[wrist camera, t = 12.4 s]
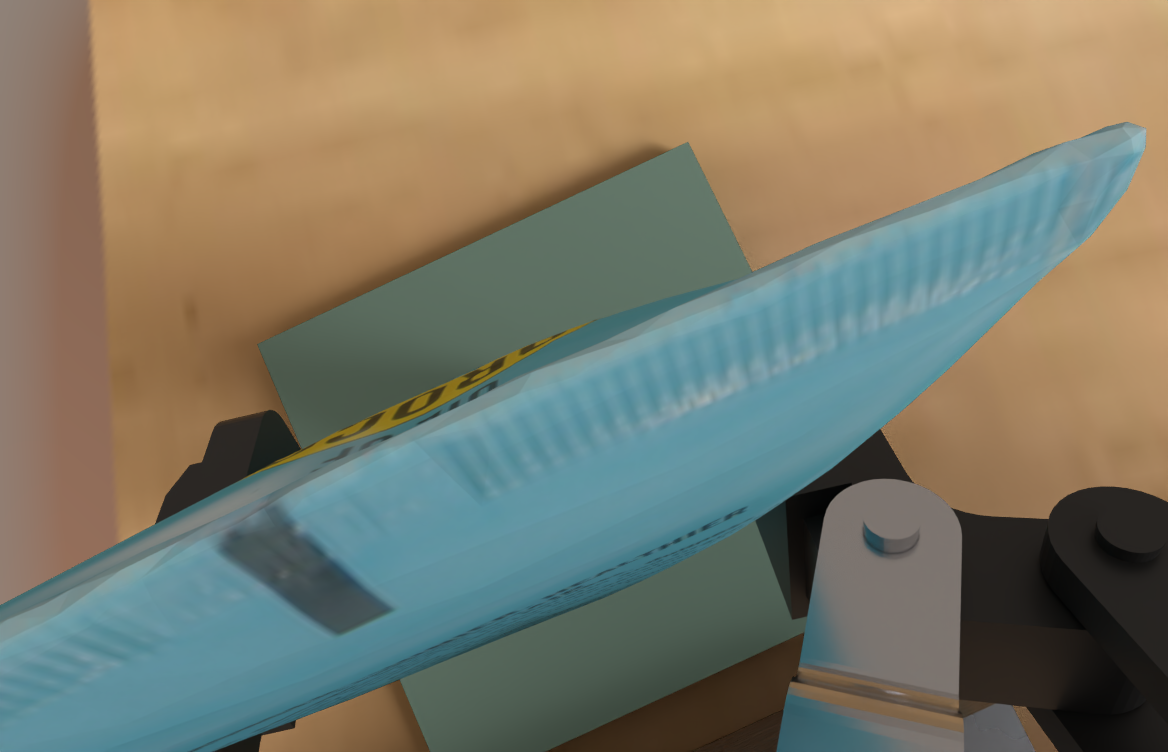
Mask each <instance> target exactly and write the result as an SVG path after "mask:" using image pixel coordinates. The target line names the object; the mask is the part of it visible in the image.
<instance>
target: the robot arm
mask: <svg viewBox="0 0 1168 752" xmlns="http://www.w3.org/2000/svg"><path fill="white" fill-rule="evenodd" d="M299 450H301V449H300V447H299V446H298V444H297V442H296V441H295V439H294V437H293V436H292V434H291V432H290V431H289V429H288V427H287V426H286V424H285V422H284V421H283V419H282V418H281V416H280V415H279V414H278V413H276V412H275V411H273V410H268V411H264V412H260V413H255V414H251V415H247V416H243V417H238V418H234V419H230V420H226V421H222V422H219V423H218V424H217V425H216V426H215V427H214V430H213V432H212V435H211V438H210V441H209V444H208V447H207V450H206V453H205V456H204V459H203V461H202V462H201V463H197V464H193V465H190V466H189V467H188V468H187V470H186V471H185V472H184V473H183V475H182V476H181V477H180V478H179V480H178V481H177V482H176V483H175V485H174V486H173V487H172V488H171V490H170V491H169V492H168V493H167V495H166V496H165V499H164V502H163V504H162V507H161V510H160V512H159V515H158V518H157V520H156V523H155V524H157V523H159V522H161V521H162V520H164V519H166V518H168V517H170V516H172V515H174V514H176V513H178V512H180V511H182V510H184V509H186V508H188V507H189V506H191V505H193V504H195V503H197V502H199V501H201V500H203V499H205V498H207V497H209V496H211V495H213V494H215V493H216V492H218V491H220V490H222V489H224V488H226V487H228V486H230V485H232V484H234V483H236V482H238V481H240V480H242V479H243V478H245V477H247V476H249V475H251V474H253V473H255V472H257V471H259V470H261V469H262V468H264V467H266V466H268V465H270V464H272V463H273V462H275V461H277V460H280V459H282V458H285V457H287V456H289V455H291V454H293V453H295V452H297V451H299ZM755 521H756V524H757V527H758V529H759V532H760V535H761V537H762V540H763V543H764V545H765V548H766V551H767V553H768V556H769V559H770V562H771V564H772V567H773V570H774V572H775V575H776V578H777V580H778V583H779V586H780V588H781V591H782V594H783V597H784V599H785V602H786V605H787V607H788V610H789V613H790V615H791V618H792V620H794V619H798V618H803V617H807V622H806V628H805V634H804V640H803V645H802V651H801V657H800V663H799V667H798V671H797V674H796V676H795V677H794V676H793V677H792V679H791V682H790V685H789V688H788V692H787V696H786V701H785V706H784V712H783V717H782V723H781V729H780V734H779V740H778V746H777V751H776V752H964V724H963V715H962V712H960V710H959V700H968V701H977V702H987V703H996V704H1005V705H1015V706H1024V707H1027V709H1028V710H1029V711H1030V713H1031V714H1032V715H1033V717H1034V718H1035V720H1036V721H1037V722H1038V724H1039V725H1040V727H1041V728H1042V729H1043V731H1044V732H1045V733H1046V735H1047V736H1048V738H1049V739H1050V740H1051V742H1052V743H1053V744H1054V746H1055V747H1056V749H1057V750H1058V751H1059V752H1168V502H1166V501H1164V500H1162V499H1160V498H1158V497H1155V496H1153V495H1150V494H1147V493H1144V492H1141V491H1137V490H1132V489H1128V488H1120V487H1093V488H1087V489H1083V490H1079V491H1076V492H1074V493H1072V494H1070V495H1068V496H1066V497H1065V498H1063V499H1062V500H1060V501H1059V502H1058V504H1057V505H1056V506H1055V507H1054V508H1053V510H1052V512H1051V514H1050V516H1049V519H1033V518H1012V517H991V516H981V515H975V514H970V513H965V512H962V511H959V510H956V509H953V508H950V506H949V505H948V504H947V503H946V502H945V501H944V500H943V499H941V498H940V497H939V496H938V495H936V494H935V493H933V492H932V491H930V490H928V489H926V488H924V487H922V486H919V485H917V484H914V483H913V482H912V480H911V479H910V478H909V476H908V475H907V473H906V472H905V470H904V468H903V467H902V465H901V463H900V462H899V460H898V458H897V457H896V455H895V453H894V452H893V450H892V448H891V446H890V445H889V443H888V441H887V440H886V438H885V436H884V435H883V433H882V431H881V430H880V429H879V430H878V431H877V432H876V433H874V434H873V435H872V436H871V437H870V438H868V439H867V440H866V441H865V442H863V443H862V444H861V445H860V446H859V447H857V448H856V449H855V450H854V451H852V452H851V453H850V454H849V455H848V456H846V457H845V458H844V459H843V460H842V461H840V462H839V463H838V464H837V465H835V466H834V467H833V468H832V469H830V470H829V471H827V472H826V473H824V474H823V475H822V476H820V477H819V478H817V479H816V480H814V481H813V482H811V483H810V484H809V485H807V486H806V487H804V488H803V489H801V490H800V491H798V492H797V493H795V494H794V495H793V496H791V497H790V498H788V499H787V500H785V501H784V502H782V503H781V504H779V505H778V506H776V507H775V508H773V509H772V510H770V511H769V512H767V513H766V514H764V515H763V516H761V517H760V518H758V519H757V520H755ZM295 722H296V720H294V721H292V722H289V723H286V724H284V725H281V726H278V727H276V728H273V729H270V730H268V731H265V732H262V733H260V734H257V735H255V736H252V737H249V738H247V739H244V740H242V741H239V742H237V743H234V744H231V745H229V746H226V747H224V748H221V749H218V750H216V751H213V752H259V746H260V741H261V736H262V735H266V734H270V733H275V732H279V731H284V730H288V729H293V728H295Z"/></svg>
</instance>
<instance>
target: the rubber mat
mask: <svg viewBox="0 0 1168 752" xmlns="http://www.w3.org/2000/svg"><path fill="white" fill-rule="evenodd" d="M750 273H752V270H751V268H750V266H749V264H748V262H747V260H746V258H745V256H744V254H743V252H742V250H741V248H740V246H739V244H738V242H737V240H736V238H735V236H734V234H733V232H732V230H731V228H730V226H729V224H728V222H727V220H726V218H725V216H724V214H723V212H722V210H721V208H720V206H719V204H718V201H717V199H716V197H715V195H714V193H713V191H712V189H711V187H710V185H709V183H708V181H707V179H706V177H705V175H704V173H703V171H702V169H701V167H700V165H699V163H698V161H697V159H696V157H695V155H694V153H693V151H692V149H691V147H690V145H689V143H688V142H687V143H685V144H683V145H680V146H678V147H676V148H674V149H672V150H670V151H668V152H666V153H663V154H661V155H659V156H657V157H655V158H653V159H651V160H648V161H646V162H644V163H642V164H640V165H638V166H636V167H634V168H631V169H629V170H627V171H625V172H623V173H621V174H619V175H617V176H614V177H612V178H610V179H608V180H606V181H604V182H602V183H600V184H597V185H595V186H593V187H591V188H589V189H587V190H585V191H582V192H580V193H578V194H576V195H574V196H572V197H570V198H568V199H565V200H563V201H561V202H559V203H557V204H555V205H553V206H551V207H548V208H546V209H544V210H542V211H540V212H538V213H536V214H533V215H531V216H529V217H527V218H525V219H523V220H521V221H519V222H516V223H514V224H512V225H510V226H508V227H506V228H504V229H502V230H499V231H497V232H495V233H493V234H491V235H489V236H487V237H485V238H482V239H480V240H478V241H476V242H474V243H472V244H470V245H467V246H465V247H463V248H461V249H459V250H457V251H455V252H453V253H450V254H448V255H446V256H444V257H442V258H440V259H438V260H436V261H433V262H431V263H429V264H427V265H425V266H423V267H421V268H419V269H416V270H414V271H412V272H410V273H408V274H406V275H404V276H401V277H399V278H397V279H395V280H393V281H391V282H389V283H387V284H384V285H382V286H380V287H378V288H376V289H374V290H372V291H370V292H367V293H365V294H363V295H361V296H359V297H357V298H355V299H352V300H350V301H348V302H346V303H344V304H342V305H340V306H338V307H335V308H333V309H331V310H329V311H327V312H325V313H323V314H321V315H318V316H316V317H314V318H312V319H310V320H308V321H306V322H304V323H301V324H299V325H297V326H295V327H293V328H291V329H289V330H286V331H284V332H282V333H280V334H278V335H276V336H274V337H272V338H269V339H267V340H265V341H263V342H261V343H259V344H257V345H258V347H259V350H260V352H261V354H262V357H263V359H264V361H265V364H266V366H267V368H268V371H269V373H270V375H271V378H272V380H273V382H274V385H275V387H276V390H277V392H278V394H279V397H280V399H281V401H282V404H283V406H284V408H285V411H286V413H287V415H288V418H289V420H290V423H291V425H292V427H293V430H294V432H295V434H296V437H297V439H298V441H299V444H300V446H301V448H302V449H303V448H305V447H307V446H309V445H311V444H313V443H315V442H317V441H319V440H322V439H324V438H326V437H328V436H330V435H332V434H333V433H335V432H337V431H339V430H342V429H344V428H346V427H349V426H351V425H353V424H356V423H358V422H360V421H362V420H364V419H366V418H368V417H370V416H373V415H375V414H377V413H379V412H381V411H383V410H385V409H388V408H390V407H392V406H394V405H396V404H399V403H401V402H403V401H405V400H407V399H409V398H412V397H414V396H416V395H418V394H420V393H423V392H425V391H427V390H429V389H431V388H434V387H436V386H438V385H441V384H443V383H445V382H447V381H449V380H452V379H454V378H456V377H458V376H460V375H462V374H465V373H467V372H469V371H471V370H474V369H476V368H478V367H480V366H483V365H485V364H487V363H489V362H492V361H494V360H496V359H498V358H501V357H503V356H505V355H507V354H510V353H512V352H514V351H516V350H519V349H521V348H523V347H525V346H528V345H530V344H533V343H536V342H538V341H541V340H543V339H546V338H549V337H551V336H554V335H556V334H559V333H561V332H564V331H566V330H568V329H571V328H574V327H577V326H580V325H583V324H586V323H589V322H591V321H593V320H596V319H601V318H604V317H607V316H610V315H613V314H616V313H620V312H623V311H626V310H629V309H633V308H636V307H639V306H642V305H646V304H649V303H652V302H655V301H658V300H662V299H665V298H668V297H672V296H676V295H680V294H683V293H687V292H691V291H695V290H698V289H702V288H706V287H709V286H713V285H717V284H721V283H724V282H728V281H732V280H735V279H739V278H741V277H743V276H745V275H747V274H750ZM806 622H807V617H803V618H798V619H794V620H792V618H791V615H790V613H789V610H788V607H787V605H786V602H785V599H784V597H783V594H782V591H781V588H780V586H779V583H778V580H777V578H776V575H775V572H774V570H773V567H772V564H771V562H770V559H769V556H768V553H767V551H766V548H765V545H764V543H763V540H762V537H761V535H760V532H759V529H758V527H757V524H756V521H753V522H752V523H750V524H748V525H747V526H745V527H744V528H742V529H740V530H739V531H737V532H736V533H734V534H732V535H731V536H729V537H727V538H725V539H724V540H722V541H720V542H718V543H716V544H714V545H712V546H710V547H708V548H706V549H704V550H702V551H700V552H698V553H697V554H695V555H693V556H691V557H689V558H687V559H685V560H683V561H681V562H679V563H677V564H675V565H673V566H672V567H670V568H667V569H665V570H663V571H661V572H659V573H657V574H655V575H653V576H651V577H649V578H647V579H645V580H643V581H641V582H639V583H636V584H634V585H632V586H630V587H627V588H625V589H623V590H621V591H618V592H616V593H614V594H612V595H610V596H607V597H605V598H603V599H600V600H597V601H595V602H592V603H590V604H587V605H585V606H582V607H580V608H577V609H575V610H572V611H569V612H567V613H564V614H562V615H559V616H557V617H554V618H552V619H549V620H547V621H544V622H542V623H539V624H536V625H534V626H531V627H529V628H526V629H524V630H521V631H519V632H516V633H514V634H511V635H509V636H506V637H504V638H501V639H499V640H496V641H494V642H491V643H489V644H486V645H484V646H481V647H479V648H476V649H474V650H471V651H469V652H466V653H464V654H461V655H459V656H456V657H454V658H451V659H449V660H446V661H444V662H441V663H439V664H436V665H434V666H431V667H429V668H427V669H424V670H422V671H419V672H417V673H414V674H412V675H409V676H407V677H404V678H402V679H400V682H401V684H402V686H403V689H404V691H405V693H406V696H407V698H408V700H409V703H410V705H411V708H412V710H413V712H414V715H415V717H416V719H417V722H418V724H419V726H420V729H421V731H422V733H423V736H424V738H425V741H426V743H427V745H428V748H429V750H430V752H546V751H548V750H550V749H552V748H554V747H557V746H559V745H561V744H563V743H565V742H567V741H570V740H572V739H574V738H576V737H578V736H580V735H583V734H585V733H587V732H589V731H591V730H593V729H596V728H598V727H600V726H602V725H604V724H606V723H609V722H611V721H613V720H615V719H617V718H619V717H622V716H624V715H626V714H628V713H630V712H632V711H635V710H637V709H639V708H641V707H643V706H645V705H648V704H650V703H652V702H654V701H656V700H658V699H661V698H663V697H665V696H667V695H669V694H671V693H674V692H676V691H678V690H680V689H682V688H684V687H687V686H689V685H691V684H693V683H695V682H698V681H700V680H702V679H704V678H706V677H708V676H711V675H713V674H715V673H717V672H719V671H721V670H724V669H726V668H728V667H730V666H732V665H734V664H737V663H739V662H741V661H743V660H745V659H747V658H750V657H752V656H754V655H756V654H758V653H760V652H763V651H765V650H767V649H769V648H771V647H773V646H776V645H778V644H780V643H782V642H784V641H786V640H789V639H791V638H793V637H795V636H797V635H799V634H802V633H804V632H805V628H806Z"/></svg>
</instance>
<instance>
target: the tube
mask: <svg viewBox="0 0 1168 752" xmlns="http://www.w3.org/2000/svg"><path fill="white" fill-rule="evenodd" d="M1145 147H1146V128H1144V127H1141V126H1138V125H1135V124H1132V123H1129V122H1124V123H1120V124H1116V125H1112V126H1107V127H1105V128H1102V129H1100V130H1098V131H1096V132H1093V133H1091V134H1089V135H1086V136H1084V137H1082V138H1079V139H1076V140H1072V141H1068V142H1065V143H1062V144H1059V145H1056V146H1053V147H1050V148H1048V149H1045V150H1042V151H1039V152H1036V153H1033V154H1031V155H1029V156H1027V157H1025V158H1023V159H1021V160H1019V161H1017V162H1015V163H1013V164H1010V165H1008V166H1006V167H1004V168H1002V169H1000V170H998V171H996V172H994V173H992V174H990V175H988V176H986V177H984V178H982V179H979V180H977V181H974V182H972V183H969V184H967V185H964V186H962V187H959V188H957V189H954V190H952V191H949V192H946V193H944V194H941V195H939V196H936V197H934V198H931V199H929V200H926V201H924V202H921V203H919V204H916V205H914V206H911V207H909V208H906V209H903V210H901V211H898V212H896V213H893V214H891V215H888V216H885V217H883V218H880V219H878V220H875V221H873V222H870V223H867V224H865V225H862V226H860V227H857V228H854V229H852V230H849V231H847V232H844V233H842V234H839V235H836V236H834V237H831V238H829V239H826V240H824V241H821V242H818V243H816V244H814V245H812V246H809V247H807V248H805V249H803V250H800V251H798V252H796V253H794V254H792V255H789V256H787V257H785V258H783V259H781V260H778V261H776V262H774V263H772V264H770V265H767V266H765V267H763V268H761V269H758V270H756V271H754V272H752V273H750V274H747V275H745V276H743V277H741V278H739V279H735V280H732V281H728V282H724V283H721V284H717V285H713V286H709V287H706V288H702V289H698V290H695V291H691V292H687V293H683V294H680V295H676V296H672V297H668V298H665V299H662V300H658V301H655V302H652V303H649V304H646V305H642V306H639V307H636V308H633V309H629V310H626V311H623V312H620V313H616V314H613V315H610V316H607V317H604V318H601V319H596V320H593V321H591V322H589V323H586V324H583V325H580V326H577V327H574V328H571V329H568V330H566V331H564V332H561V333H559V334H556V335H554V336H551V337H549V338H546V339H543V340H541V341H538V342H536V343H533V344H530V345H528V346H525V347H523V348H521V349H519V350H516V351H514V352H512V353H510V354H507V355H505V356H503V357H501V358H498V359H496V360H494V361H492V362H489V363H487V364H485V365H483V366H480V367H478V368H476V369H474V370H471V371H469V372H467V373H465V374H462V375H460V376H458V377H456V378H454V379H452V380H449V381H447V382H445V383H443V384H441V385H438V386H436V387H434V388H431V389H429V390H427V391H425V392H423V393H420V394H418V395H416V396H414V397H412V398H409V399H407V400H405V401H403V402H401V403H399V404H396V405H394V406H392V407H390V408H388V409H385V410H383V411H381V412H379V413H377V414H375V415H373V416H370V417H368V418H366V419H364V420H362V421H360V422H358V423H356V424H353V425H351V426H349V427H346V428H344V429H342V430H339V431H337V432H335V433H333V434H332V435H330V436H328V437H326V438H324V439H322V440H319V441H317V442H315V443H313V444H311V445H309V446H307V447H305V448H303V449H301V450H299V451H297V452H295V453H293V454H291V455H289V456H287V457H285V458H282V459H280V460H277V461H275V462H273V463H272V464H270V465H268V466H266V467H264V468H262V469H261V470H259V471H257V472H255V473H253V474H251V475H249V476H247V477H245V478H243V479H242V480H240V481H238V482H236V483H234V484H232V485H230V486H228V487H226V488H224V489H222V490H220V491H218V492H216V493H215V494H213V495H211V496H209V497H207V498H205V499H203V500H201V501H199V502H197V503H195V504H193V505H191V506H189V507H188V508H186V509H184V510H182V511H180V512H178V513H176V514H174V515H172V516H170V517H168V518H166V519H164V520H162V521H161V522H159V523H157V524H155V525H153V526H151V527H149V528H147V529H145V530H143V531H141V532H139V533H138V534H136V535H134V536H132V537H130V538H128V539H126V540H124V541H122V542H120V543H118V544H117V545H115V546H113V547H111V548H109V549H107V550H105V551H104V552H101V553H99V554H97V555H95V556H94V557H92V558H90V559H88V560H86V561H84V562H82V563H80V564H78V565H76V566H74V567H73V568H71V569H69V570H67V571H65V572H63V573H61V574H59V575H57V576H55V577H53V578H51V579H50V580H48V581H46V582H44V583H42V584H40V585H38V586H36V587H34V588H32V589H31V590H29V591H27V592H25V593H23V594H21V595H19V596H17V597H15V598H13V599H11V600H10V601H7V602H6V603H4V604H2V605H0V752H213V751H216V750H218V749H221V748H224V747H226V746H229V745H231V744H234V743H237V742H239V741H242V740H244V739H247V738H249V737H252V736H255V735H257V734H260V733H262V732H265V731H268V730H270V729H273V728H276V727H278V726H281V725H284V724H286V723H289V722H292V721H294V720H297V719H300V718H302V717H305V716H308V715H310V714H313V713H315V712H318V711H321V710H323V709H326V708H329V707H331V706H334V705H337V704H339V703H342V702H345V701H347V700H350V699H353V698H355V697H358V696H360V695H363V694H365V693H367V692H370V691H372V690H375V689H377V688H380V687H382V686H385V685H387V684H390V683H392V682H395V681H397V680H399V679H402V678H404V677H407V676H409V675H412V674H414V673H417V672H419V671H422V670H424V669H427V668H429V667H431V666H434V665H436V664H439V663H441V662H444V661H446V660H449V659H451V658H454V657H456V656H459V655H461V654H464V653H466V652H469V651H471V650H474V649H476V648H479V647H481V646H484V645H486V644H489V643H491V642H494V641H496V640H499V639H501V638H504V637H506V636H509V635H511V634H514V633H516V632H519V631H521V630H524V629H526V628H529V627H531V626H534V625H536V624H539V623H542V622H544V621H547V620H549V619H552V618H554V617H557V616H559V615H562V614H564V613H567V612H569V611H572V610H575V609H577V608H580V607H582V606H585V605H587V604H590V603H592V602H595V601H597V600H600V599H603V598H605V597H607V596H610V595H612V594H614V593H616V592H618V591H621V590H623V589H625V588H627V587H630V586H632V585H634V584H636V583H639V582H641V581H643V580H645V579H647V578H649V577H651V576H653V575H655V574H657V573H659V572H661V571H663V570H665V569H667V568H670V567H672V566H673V565H675V564H677V563H679V562H681V561H683V560H685V559H687V558H689V557H691V556H693V555H695V554H697V553H698V552H700V551H702V550H704V549H706V548H708V547H710V546H712V545H714V544H716V543H718V542H720V541H722V540H724V539H725V538H727V537H729V536H731V535H732V534H734V533H736V532H737V531H739V530H740V529H742V528H744V527H745V526H747V525H748V524H750V523H752V522H753V521H755V520H757V519H758V518H760V517H761V516H763V515H764V514H766V513H767V512H769V511H770V510H772V509H773V508H775V507H776V506H778V505H779V504H781V503H782V502H784V501H785V500H787V499H788V498H790V497H791V496H793V495H794V494H795V493H797V492H798V491H800V490H801V489H803V488H804V487H806V486H807V485H809V484H810V483H811V482H813V481H814V480H816V479H817V478H819V477H820V476H822V475H823V474H824V473H826V472H827V471H829V470H830V469H832V468H833V467H834V466H835V465H837V464H838V463H839V462H840V461H842V460H843V459H844V458H845V457H846V456H848V455H849V454H850V453H851V452H852V451H854V450H855V449H856V448H857V447H859V446H860V445H861V444H862V443H863V442H865V441H866V440H867V439H868V438H870V437H871V436H872V435H873V434H874V433H876V432H877V431H878V430H879V429H880V428H882V427H883V426H884V425H885V424H887V423H888V422H889V421H890V420H891V419H893V418H894V417H895V416H896V415H897V414H899V413H900V412H901V411H902V410H903V409H905V408H906V407H907V406H908V405H909V404H910V403H911V402H912V401H913V400H915V399H916V398H917V397H918V396H919V395H920V394H921V393H922V392H923V391H925V390H926V389H927V388H928V387H929V386H930V385H931V384H932V383H934V382H935V381H936V380H937V379H938V378H939V377H940V376H941V375H942V374H944V373H945V372H946V371H947V370H948V369H949V368H950V367H951V366H952V365H953V364H954V363H955V362H956V361H957V360H958V359H959V358H960V357H961V356H962V355H964V354H965V353H966V352H967V351H968V350H969V349H970V348H971V347H972V346H973V345H974V344H975V343H976V342H977V341H978V340H979V339H980V338H981V337H982V336H983V335H984V334H985V333H986V332H987V331H988V330H989V329H990V328H991V327H992V326H993V325H994V324H995V323H996V322H997V321H998V320H999V319H1000V318H1001V317H1002V316H1004V315H1005V314H1006V313H1007V312H1008V311H1009V310H1010V309H1011V308H1012V307H1013V306H1014V305H1015V304H1016V303H1017V302H1018V301H1019V300H1020V299H1021V298H1022V297H1023V296H1024V295H1025V294H1026V293H1027V292H1028V291H1029V290H1030V289H1031V288H1032V287H1033V286H1034V285H1035V284H1036V283H1037V282H1038V281H1040V280H1041V279H1042V278H1043V277H1044V276H1045V275H1046V274H1048V273H1049V272H1050V271H1051V270H1052V269H1053V268H1055V267H1056V266H1057V265H1058V264H1059V263H1060V262H1062V261H1063V260H1064V259H1065V258H1066V257H1067V256H1069V255H1070V254H1071V253H1072V252H1073V251H1074V250H1075V249H1077V248H1078V247H1079V246H1080V245H1081V244H1082V243H1083V242H1085V241H1086V240H1087V239H1088V238H1089V237H1090V236H1091V235H1092V234H1093V233H1094V231H1095V230H1096V229H1097V228H1098V226H1099V225H1100V224H1101V222H1102V221H1103V220H1104V219H1105V217H1106V216H1107V215H1108V213H1109V212H1110V211H1111V210H1112V208H1113V207H1114V206H1115V204H1116V203H1117V202H1118V201H1119V199H1120V198H1121V197H1122V195H1123V194H1124V193H1125V192H1126V190H1127V189H1128V186H1129V184H1130V182H1131V180H1132V177H1133V175H1134V173H1135V170H1136V168H1137V166H1138V163H1139V161H1140V159H1141V157H1142V154H1143V152H1144V150H1145Z"/></svg>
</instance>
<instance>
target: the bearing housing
mask: <svg viewBox="0 0 1168 752" xmlns="http://www.w3.org/2000/svg"><path fill="white" fill-rule="evenodd" d="M959 710H960V712H962V715H963V724H964V752H1035V750H1034V748H1033V746H1032V744H1031V742H1030V740H1029V738H1028V736H1027V734H1026V732H1025V730H1024V728H1023V726H1022V724H1021V722H1020V720H1019V718H1018V716H1017V714H1016V712H1015V710H1014V708H1013V706H1012V705H1005V704H996V703H987V702H977V701H968V700H959ZM783 712H784V710H782V711H779V712H777V713H775V714H773V715H771V716H769V717H766V718H764V719H762V720H760V721H758V722H756V723H753V724H751V725H749V726H747V727H745V728H743V729H740V730H738V731H736V732H734V733H732V734H729V735H727V736H725V737H723V738H721V739H719V740H716V741H714V742H712V743H710V744H708V745H706V746H703V747H701V748H699V749H697V750H695V751H693V752H776V751H777V746H778V740H779V734H780V729H781V723H782V717H783Z"/></svg>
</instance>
